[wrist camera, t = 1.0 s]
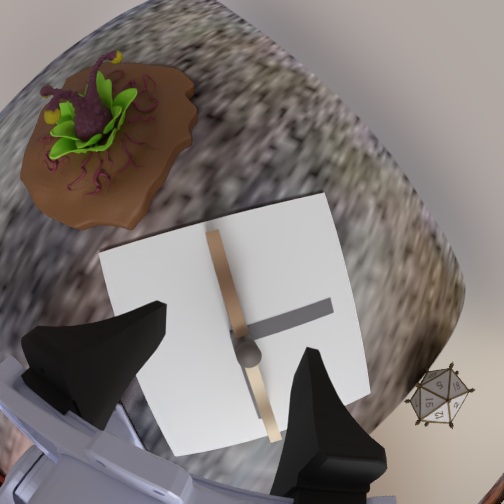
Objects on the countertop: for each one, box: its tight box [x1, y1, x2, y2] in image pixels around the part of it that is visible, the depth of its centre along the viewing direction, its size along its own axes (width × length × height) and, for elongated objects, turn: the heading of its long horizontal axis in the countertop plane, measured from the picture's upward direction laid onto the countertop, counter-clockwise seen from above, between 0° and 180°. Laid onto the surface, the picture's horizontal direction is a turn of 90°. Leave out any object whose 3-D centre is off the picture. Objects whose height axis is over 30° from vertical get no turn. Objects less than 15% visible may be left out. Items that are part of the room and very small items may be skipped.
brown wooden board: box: [205, 229, 249, 338], centre depth 22 cm, size 8×1×5 cm, turn 16°
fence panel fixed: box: [230, 330, 282, 443], centre depth 22 cm, size 10×2×6 cm, turn 16°
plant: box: [20, 51, 198, 230], centre depth 19 cm, size 20×20×11 cm
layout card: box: [99, 193, 370, 456], centre depth 25 cm, size 23×23×1 cm
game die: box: [404, 363, 475, 429], centre depth 24 cm, size 9×8×10 cm
